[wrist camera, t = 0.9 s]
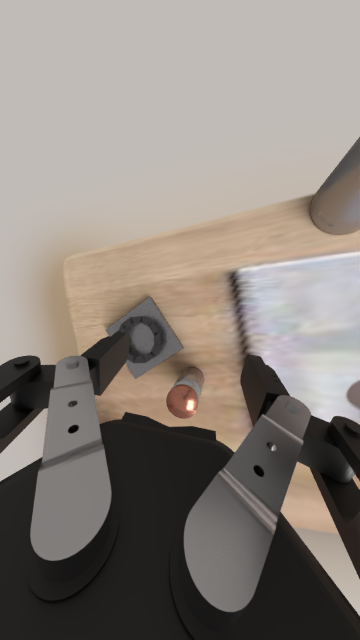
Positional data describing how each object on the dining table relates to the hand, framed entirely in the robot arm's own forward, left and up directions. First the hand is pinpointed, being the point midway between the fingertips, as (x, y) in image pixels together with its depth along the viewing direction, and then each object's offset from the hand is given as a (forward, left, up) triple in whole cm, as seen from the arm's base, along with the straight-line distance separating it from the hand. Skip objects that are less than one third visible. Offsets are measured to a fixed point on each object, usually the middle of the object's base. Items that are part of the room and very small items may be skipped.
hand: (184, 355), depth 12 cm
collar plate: (+12, -6, -23) cm, 26 cm away
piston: (+8, +6, -23) cm, 25 cm away
